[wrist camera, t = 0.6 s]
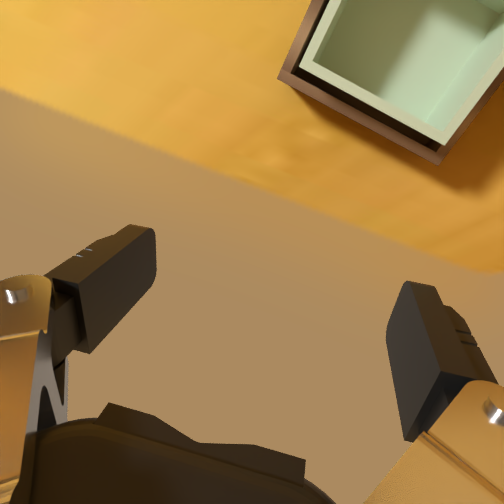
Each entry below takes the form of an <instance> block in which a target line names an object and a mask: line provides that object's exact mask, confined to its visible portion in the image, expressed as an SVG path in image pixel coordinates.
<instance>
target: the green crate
mask: <svg viewBox="0 0 504 504" xmlns="http://www.w3.org/2000/svg"><path fill="white" fill-rule="evenodd" d="M299 67H300V68H302V69H304V70H305V71H307V72H309V73H311V74H313V75H315V76H317V77H318V78H320V79H322V80H324V81H326V82H328V83H329V84H331V85H333V86H335V87H337V88H339V89H340V90H342V91H344V92H346V93H348V94H350V95H352V96H353V97H355V98H357V99H359V100H361V101H363V102H364V103H366V104H368V105H370V106H372V107H374V108H375V109H377V110H379V111H381V112H383V113H385V114H387V115H388V116H390V117H392V118H394V119H396V120H398V121H399V122H401V123H403V124H405V125H407V126H409V127H410V128H412V129H414V130H416V131H418V132H420V133H422V134H423V135H425V136H427V137H429V138H431V139H433V140H435V141H437V142H439V143H441V144H442V145H444V146H445V144H446V143H447V142H448V140H449V139H450V138H451V136H452V135H453V134H454V132H455V131H456V130H457V128H458V127H459V126H460V124H461V123H462V122H463V120H464V119H465V118H466V116H467V115H468V114H469V112H470V111H471V110H472V108H473V107H474V106H475V104H476V103H477V102H478V100H479V99H480V98H481V96H482V95H483V94H484V92H485V91H486V90H487V88H488V87H489V86H490V84H491V83H492V82H493V80H494V79H495V78H496V76H497V75H498V74H499V72H500V71H501V70H502V68H503V67H504V0H330V1H329V3H328V5H327V7H326V9H325V12H324V14H323V16H322V18H321V20H320V22H319V24H318V27H317V29H316V31H315V33H314V35H313V37H312V39H311V42H310V44H309V46H308V48H307V50H306V52H305V54H304V56H303V59H302V61H301V63H300V65H299Z"/></svg>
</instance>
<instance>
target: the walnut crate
mask: <svg viewBox="0 0 504 504" xmlns="http://www.w3.org/2000/svg"><path fill="white" fill-rule="evenodd" d="M329 1H330V0H312V1H311V3H310V5H309V8H308V10H307V12H306V14H305V17H304V19H303V21H302V23H301V26H300V28H299V30H298V32H297V35H296V37H295V39H294V41H293V44H292V46H291V48H290V50H289V53H288V55H287V57H286V59H285V62H284V64H283V66H282V68H281V70H280V73H279V75H278V77H277V79H278V80H280V81H282V82H284V83H286V84H288V85H289V86H291V87H293V88H295V89H297V90H299V91H300V92H302V93H304V94H306V95H308V96H310V97H312V98H313V99H315V100H317V101H319V102H321V103H323V104H324V105H326V106H328V107H330V108H332V109H334V110H336V111H337V112H339V113H341V114H343V115H345V116H347V117H348V118H350V119H352V120H354V121H356V122H358V123H360V124H361V125H363V126H365V127H367V128H369V129H371V130H372V131H374V132H376V133H378V134H380V135H382V136H384V137H385V138H387V139H389V140H391V141H393V142H395V143H396V144H398V145H400V146H402V147H404V148H406V149H408V150H409V151H411V152H413V153H415V154H417V155H419V156H420V157H422V158H424V159H426V160H428V161H430V162H432V163H433V164H435V165H437V166H438V165H439V164H440V163H441V161H442V160H443V159H444V157H445V156H446V155H447V154H448V152H449V151H450V150H451V148H452V147H453V146H454V144H455V143H456V142H457V141H458V139H459V138H460V137H461V135H462V134H463V133H464V131H465V130H466V129H467V127H468V126H469V125H470V124H471V122H472V121H473V120H474V118H475V117H476V116H477V114H478V113H479V112H480V110H481V109H482V108H483V107H484V105H485V104H486V103H487V101H488V100H489V99H490V97H491V96H492V95H493V93H494V92H495V91H496V90H497V88H498V87H499V86H500V84H501V83H502V82H503V80H504V67H503V68H502V70H501V71H500V72H499V74H498V75H497V76H496V78H495V79H494V80H493V82H492V83H491V84H490V86H489V87H488V88H487V90H486V91H485V92H484V94H483V95H482V96H481V98H480V99H479V100H478V102H477V103H476V104H475V106H474V107H473V108H472V110H471V111H470V112H469V114H468V115H467V116H466V118H465V119H464V120H463V122H462V123H461V124H460V126H459V127H458V128H457V130H456V131H455V132H454V134H453V135H452V136H451V138H450V139H449V140H448V142H447V143H446V144H445V146H444V145H442V144H441V143H439V142H437V141H435V140H433V139H431V138H429V137H427V136H425V135H423V134H422V133H420V132H418V131H416V130H414V129H412V128H410V127H409V126H407V125H405V124H403V123H401V122H399V121H398V120H396V119H394V118H392V117H390V116H388V115H387V114H385V113H383V112H381V111H379V110H377V109H375V108H374V107H372V106H370V105H368V104H366V103H364V102H363V101H361V100H359V99H357V98H355V97H353V96H352V95H350V94H348V93H346V92H344V91H342V90H340V89H339V88H337V87H335V86H333V85H331V84H329V83H328V82H326V81H324V80H322V79H320V78H318V77H317V76H315V75H313V74H311V73H309V72H307V71H305V70H304V69H302V68H300V67H299V65H300V63H301V61H302V59H303V56H304V54H305V52H306V50H307V48H308V46H309V44H310V42H311V39H312V37H313V35H314V33H315V31H316V29H317V27H318V24H319V22H320V20H321V18H322V16H323V14H324V12H325V9H326V7H327V5H328V3H329Z"/></svg>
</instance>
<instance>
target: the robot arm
mask: <svg viewBox="0 0 504 504" xmlns="http://www.w3.org/2000/svg"><path fill="white" fill-rule="evenodd" d="M156 269H157V268H156V240H155V232H154V230H153V229H152V228H147V227H142V226H137V225H132V224H130V225H127V226H126V227H124V228H123V229H121V230H120V231H118V232H117V233H116V234H114V235H111V236H108V237H105V238H102V239H99V240H97V241H95V242H94V243H92V244H91V245H89V246H88V247H86V248H85V250H84V249H83V250H82V251H80V252H79V253H77V254H76V256H72V257H71V258H70V259H68V260H66V261H65V262H63V263H62V264H60V265H59V266H57V267H56V268H54V269H53V270H51V271H50V272H49V273H47V274H45V275H44V276H41V275H34V274H27V275H18V276H13V277H10V278H7V279H4V280H1V281H0V504H336V503H335V502H334V501H333V500H332V499H331V498H330V497H329V496H327V495H326V493H324V492H323V491H321V490H320V489H319V488H318V487H317V486H315V485H314V484H313V483H311V482H309V481H308V480H306V479H305V478H304V474H305V462H306V460H305V459H301V458H298V457H295V456H291V455H288V454H284V453H281V452H277V451H274V450H270V449H267V448H264V447H260V446H257V445H249V444H213V443H212V444H211V443H198V442H196V441H193V440H192V439H190V438H189V437H187V436H186V435H184V434H182V433H181V432H179V431H177V430H176V429H175V428H173V427H171V426H170V425H168V424H167V423H165V422H163V421H162V420H160V419H159V418H157V417H155V416H153V415H150V414H147V413H143V412H140V411H137V410H133V409H130V408H126V407H123V406H119V405H116V404H112V403H108V404H107V406H106V407H105V409H104V410H103V411H102V413H101V414H100V416H99V417H98V418H85V419H78V420H73V421H68V420H67V408H68V365H69V363H68V358H67V355H68V354H69V353H70V352H71V351H72V350H77V351H81V352H84V353H88V354H90V353H91V352H92V351H93V350H94V349H95V348H96V347H97V346H98V345H99V343H100V342H101V341H102V340H103V339H104V338H105V337H106V336H107V335H108V333H109V332H110V331H111V330H112V329H113V328H114V327H115V326H116V325H117V324H118V323H119V321H120V320H121V319H122V318H123V317H124V316H125V315H126V314H127V313H128V312H129V310H130V309H131V308H132V307H133V306H134V305H135V304H136V303H137V301H139V299H140V298H141V297H142V296H143V295H144V294H145V293H146V292H147V291H148V289H149V288H150V287H151V286H152V284H153V282H154V280H155V277H156ZM386 344H387V349H388V355H389V360H390V366H391V371H392V377H393V382H394V387H395V393H396V398H397V404H398V409H399V415H400V420H401V425H402V431H403V437H404V440H405V441H409V442H413V444H412V445H411V446H410V447H409V448H408V450H407V451H406V452H405V453H404V455H403V456H402V457H401V459H399V461H398V462H397V463H396V464H395V465H394V467H393V468H392V469H391V470H390V471H389V473H388V474H387V475H386V476H385V478H384V479H383V480H382V481H381V483H380V484H379V485H378V486H377V487H376V488H375V490H374V491H373V492H372V493H371V495H370V496H369V497H368V498H367V500H366V501H365V502H364V503H363V504H504V387H502V386H500V385H499V384H498V382H497V380H496V379H495V377H494V375H493V373H492V371H491V369H490V367H489V365H488V363H487V361H486V360H485V358H484V356H483V354H482V352H481V350H480V348H479V347H477V343H476V341H475V339H474V337H473V336H472V335H471V331H470V329H469V327H468V325H467V324H466V322H465V320H464V319H463V318H462V317H461V316H460V315H459V314H458V313H457V312H456V311H455V310H454V309H453V308H452V307H450V306H445V305H443V303H442V301H441V299H440V296H439V294H438V292H437V290H436V288H435V287H434V286H431V285H426V284H421V283H416V282H411V281H406V282H405V283H404V284H403V286H402V288H401V291H400V293H399V296H398V298H397V301H396V304H395V306H394V309H393V311H392V314H391V316H390V319H389V322H388V325H387V331H386Z"/></svg>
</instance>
